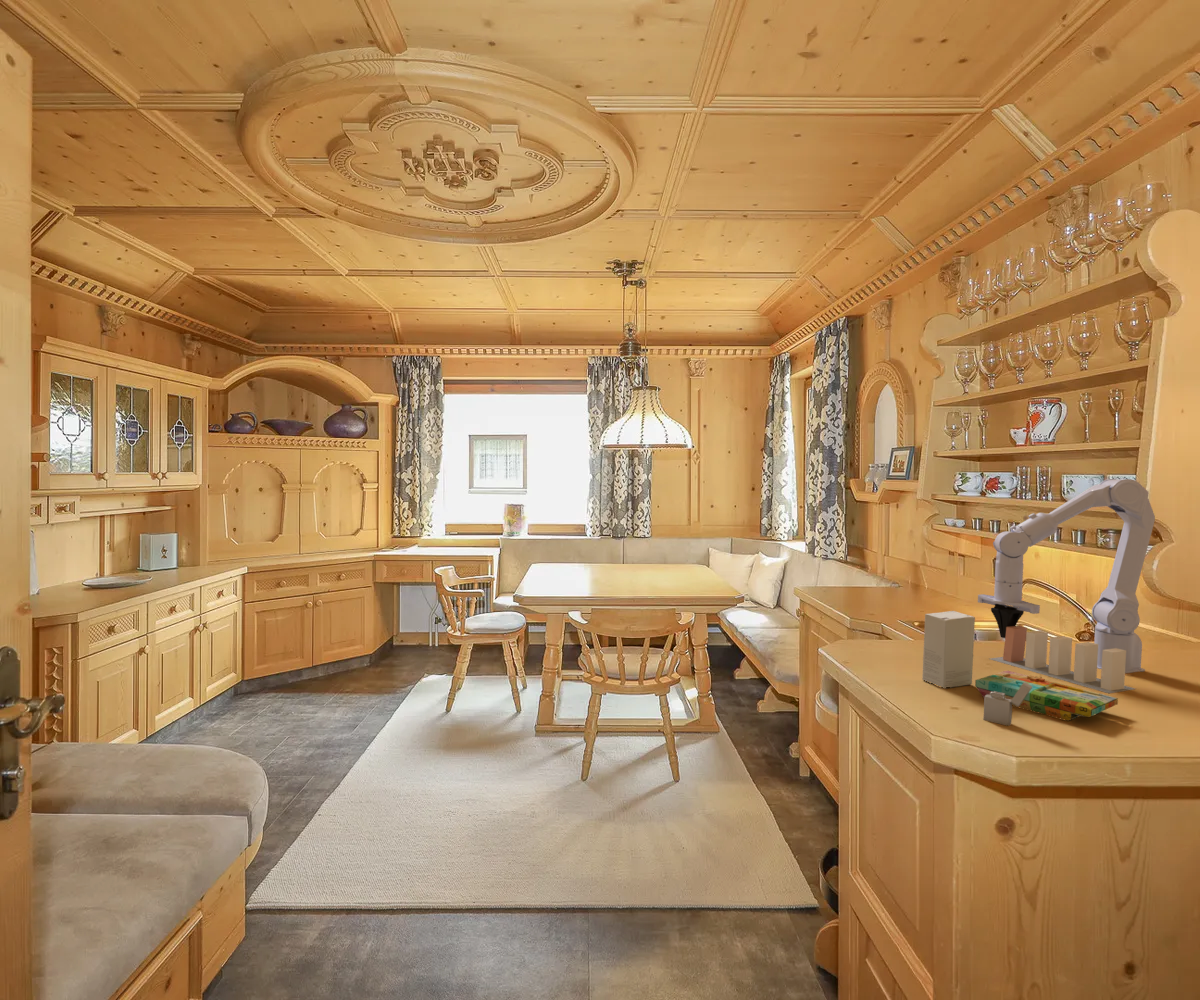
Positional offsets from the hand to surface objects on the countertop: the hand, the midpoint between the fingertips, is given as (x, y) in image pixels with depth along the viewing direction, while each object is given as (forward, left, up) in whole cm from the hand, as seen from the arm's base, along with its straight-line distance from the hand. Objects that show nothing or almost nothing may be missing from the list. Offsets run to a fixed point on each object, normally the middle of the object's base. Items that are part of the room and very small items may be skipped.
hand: (1005, 637), depth 165 cm
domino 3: (0, +13, -5) cm, 14 cm away
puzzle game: (+25, +26, -6) cm, 36 cm away
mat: (0, +13, -5) cm, 14 cm away
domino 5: (0, +24, -5) cm, 25 cm away
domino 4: (0, +19, -5) cm, 19 cm away
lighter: (+40, +30, -6) cm, 50 cm away
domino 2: (0, +8, -5) cm, 9 cm away
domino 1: (0, +2, -5) cm, 5 cm away
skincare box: (+30, +9, -6) cm, 32 cm away
